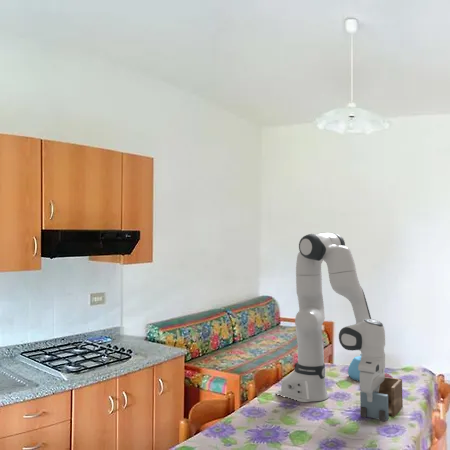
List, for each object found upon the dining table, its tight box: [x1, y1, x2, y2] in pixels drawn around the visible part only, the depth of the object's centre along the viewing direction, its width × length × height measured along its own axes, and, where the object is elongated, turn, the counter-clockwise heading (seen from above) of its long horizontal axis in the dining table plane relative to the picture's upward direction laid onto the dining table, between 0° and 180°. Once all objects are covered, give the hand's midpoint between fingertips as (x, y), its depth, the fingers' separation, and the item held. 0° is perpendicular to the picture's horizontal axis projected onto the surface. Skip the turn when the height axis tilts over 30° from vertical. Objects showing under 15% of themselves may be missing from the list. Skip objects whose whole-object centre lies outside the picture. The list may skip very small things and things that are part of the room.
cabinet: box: [359, 377, 403, 422], centre depth 190 cm, size 13×20×11 cm, turn 147°
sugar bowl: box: [347, 354, 361, 382], centre depth 236 cm, size 15×15×12 cm
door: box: [359, 391, 390, 421], centre depth 185 cm, size 10×3×9 cm, turn 57°
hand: (373, 398), depth 185 cm, fingers open, 6 cm apart
